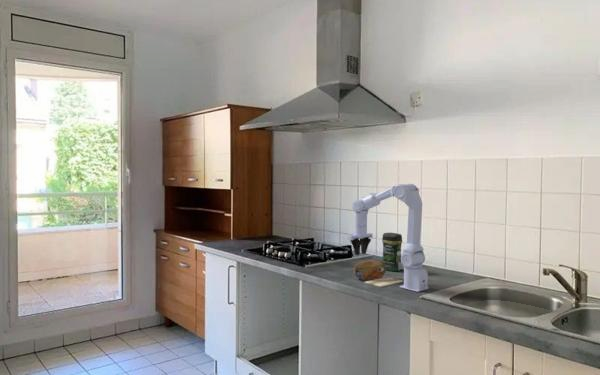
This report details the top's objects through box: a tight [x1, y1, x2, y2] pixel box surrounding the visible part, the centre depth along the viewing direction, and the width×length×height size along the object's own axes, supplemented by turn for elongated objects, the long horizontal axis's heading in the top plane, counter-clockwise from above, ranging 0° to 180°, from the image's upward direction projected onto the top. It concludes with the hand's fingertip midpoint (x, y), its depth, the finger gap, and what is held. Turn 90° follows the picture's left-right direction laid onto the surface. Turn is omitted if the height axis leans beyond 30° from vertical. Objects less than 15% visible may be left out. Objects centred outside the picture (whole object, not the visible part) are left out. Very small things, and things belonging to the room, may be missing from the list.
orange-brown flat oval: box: [353, 259, 386, 281], centre depth 200 cm, size 15×3×8 cm, turn 107°
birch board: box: [364, 276, 404, 288], centre depth 193 cm, size 10×15×1 cm, turn 129°
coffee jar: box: [381, 232, 403, 272], centre depth 218 cm, size 10×8×19 cm
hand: (360, 254), depth 204 cm, fingers open, 4 cm apart
